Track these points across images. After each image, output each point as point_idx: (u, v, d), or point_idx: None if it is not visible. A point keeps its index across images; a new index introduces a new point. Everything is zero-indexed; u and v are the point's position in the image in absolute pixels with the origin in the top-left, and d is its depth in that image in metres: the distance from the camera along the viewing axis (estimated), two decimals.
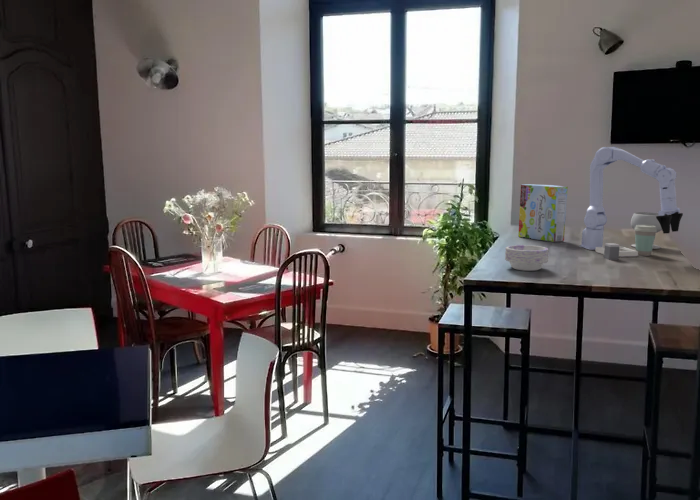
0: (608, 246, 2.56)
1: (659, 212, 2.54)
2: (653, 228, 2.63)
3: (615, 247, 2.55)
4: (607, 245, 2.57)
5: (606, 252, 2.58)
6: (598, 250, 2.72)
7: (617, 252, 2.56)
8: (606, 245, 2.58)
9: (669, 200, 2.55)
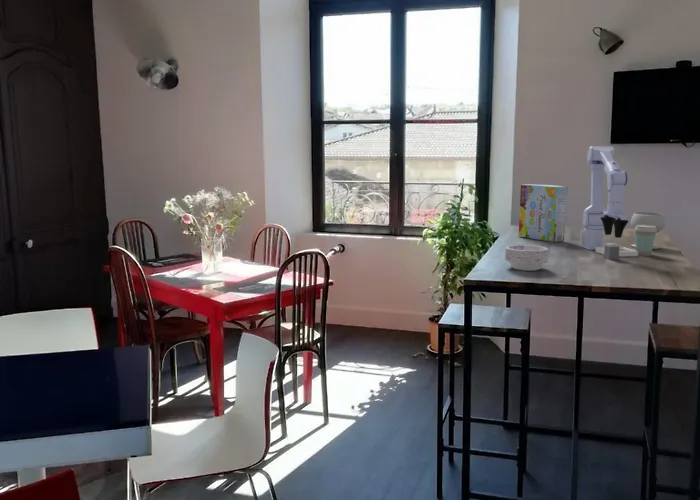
0: (608, 246, 2.56)
1: None
2: (653, 228, 2.63)
3: (615, 247, 2.55)
4: (607, 245, 2.57)
5: (606, 252, 2.58)
6: (598, 250, 2.72)
7: (617, 252, 2.56)
8: (606, 245, 2.58)
9: None
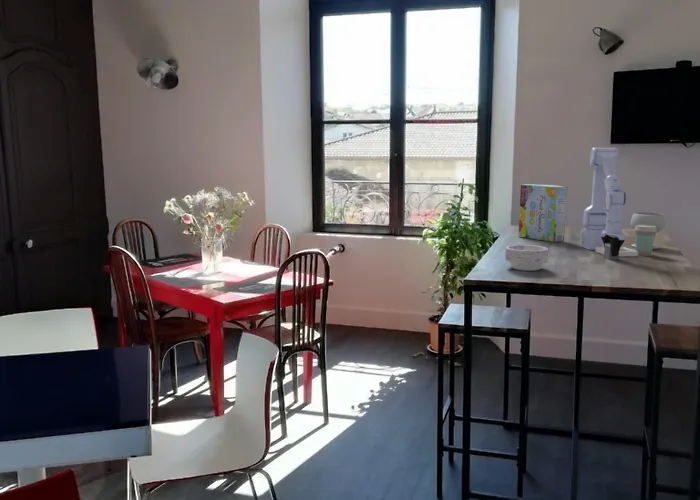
0: (608, 246, 2.56)
1: None
2: (653, 228, 2.63)
3: None
4: (607, 245, 2.57)
5: (606, 252, 2.58)
6: (598, 250, 2.72)
7: None
8: (606, 245, 2.58)
9: None
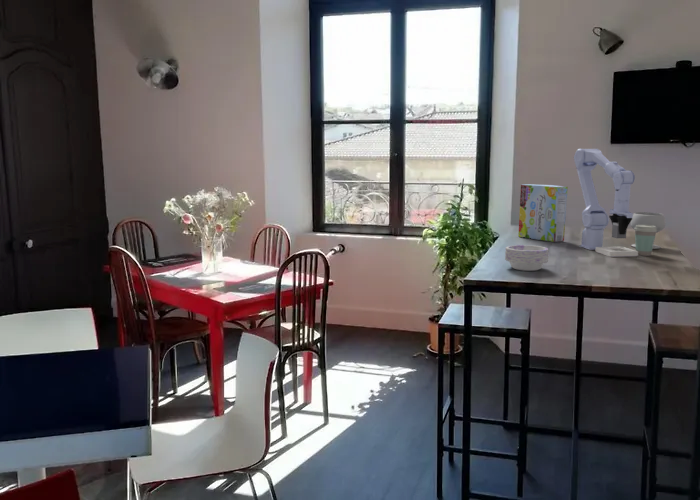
0: (616, 225, 2.64)
1: None
2: (653, 228, 2.63)
3: None
4: (615, 224, 2.65)
5: (614, 231, 2.66)
6: (598, 250, 2.72)
7: None
8: (614, 224, 2.66)
9: None
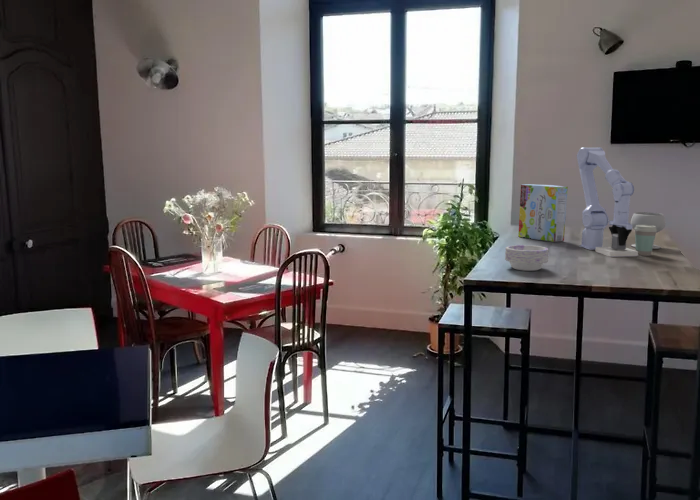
0: (615, 236, 2.66)
1: None
2: (653, 228, 2.63)
3: None
4: (614, 235, 2.66)
5: (613, 242, 2.67)
6: (598, 250, 2.72)
7: None
8: (613, 235, 2.67)
9: None
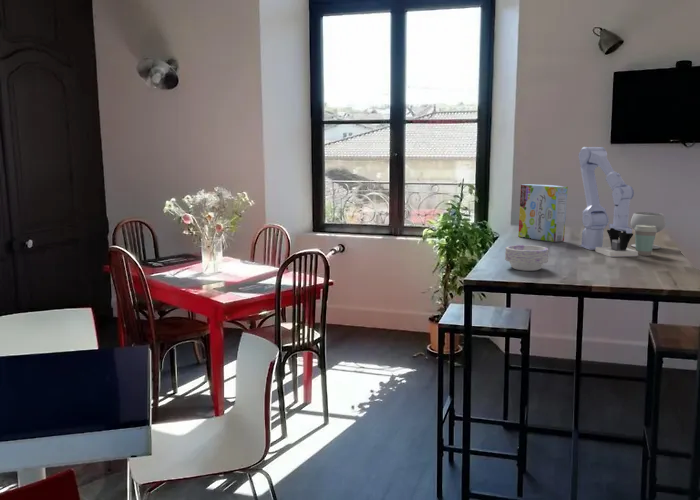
0: (615, 242, 2.66)
1: None
2: (653, 228, 2.63)
3: None
4: (614, 241, 2.67)
5: (613, 248, 2.68)
6: (598, 250, 2.72)
7: None
8: (613, 241, 2.67)
9: None
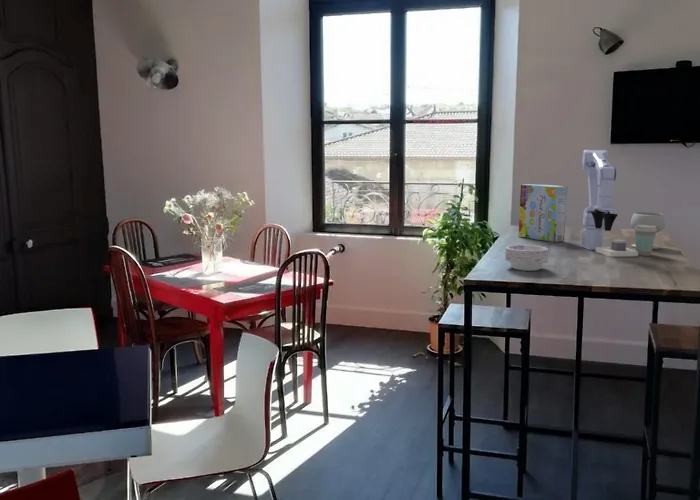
0: (615, 242, 2.66)
1: None
2: (653, 228, 2.63)
3: (622, 243, 2.65)
4: (614, 241, 2.67)
5: (613, 248, 2.68)
6: (598, 250, 2.72)
7: (624, 248, 2.66)
8: (613, 241, 2.67)
9: None
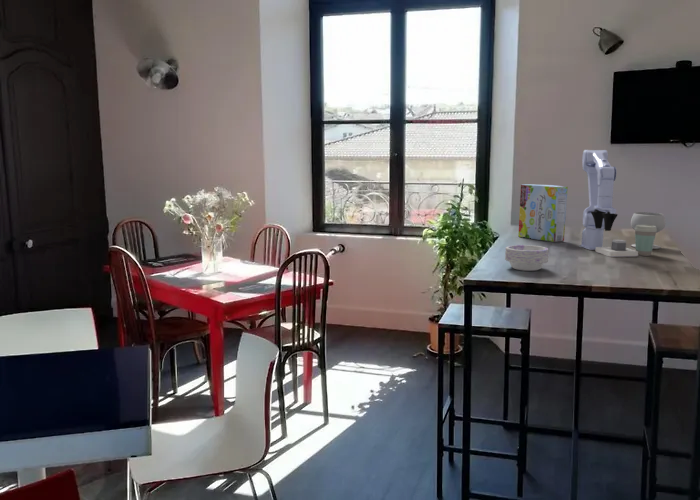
0: (615, 242, 2.66)
1: None
2: (653, 228, 2.63)
3: (622, 243, 2.65)
4: (614, 241, 2.67)
5: (613, 248, 2.68)
6: (598, 250, 2.72)
7: (624, 248, 2.66)
8: (613, 241, 2.67)
9: None
